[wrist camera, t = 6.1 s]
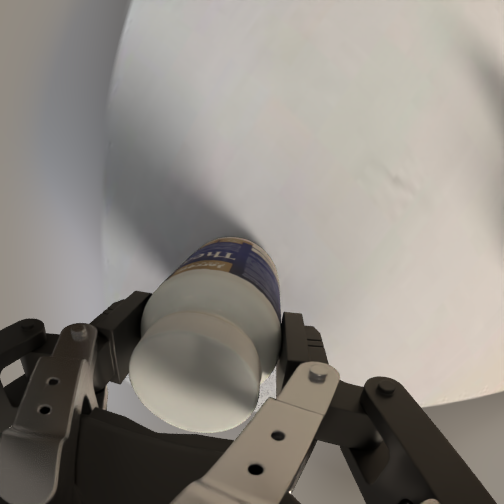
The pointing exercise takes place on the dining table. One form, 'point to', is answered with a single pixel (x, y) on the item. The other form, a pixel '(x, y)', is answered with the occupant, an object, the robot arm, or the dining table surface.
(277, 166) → the dining table surface
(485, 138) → the dining table surface
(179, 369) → the pill bottle
